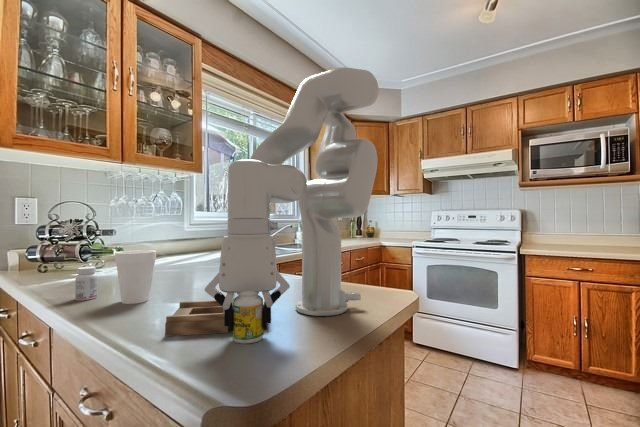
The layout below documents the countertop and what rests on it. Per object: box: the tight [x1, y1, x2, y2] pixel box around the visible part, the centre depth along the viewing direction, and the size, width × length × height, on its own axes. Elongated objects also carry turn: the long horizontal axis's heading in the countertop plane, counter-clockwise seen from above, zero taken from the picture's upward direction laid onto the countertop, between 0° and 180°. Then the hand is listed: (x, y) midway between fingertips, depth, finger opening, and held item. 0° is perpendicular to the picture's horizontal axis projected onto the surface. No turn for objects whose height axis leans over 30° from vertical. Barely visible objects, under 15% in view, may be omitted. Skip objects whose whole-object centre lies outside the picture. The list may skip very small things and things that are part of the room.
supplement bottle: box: [232, 291, 264, 345], centre depth 56 cm, size 5×5×10 cm
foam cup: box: [114, 249, 157, 305], centre depth 83 cm, size 10×9×13 cm
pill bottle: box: [74, 266, 98, 301], centre depth 85 cm, size 5×5×8 cm
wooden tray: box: [164, 297, 265, 337], centre depth 65 cm, size 18×12×3 cm, turn 102°
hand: (248, 327), depth 56 cm, fingers closed on supplement bottle, 5 cm apart
